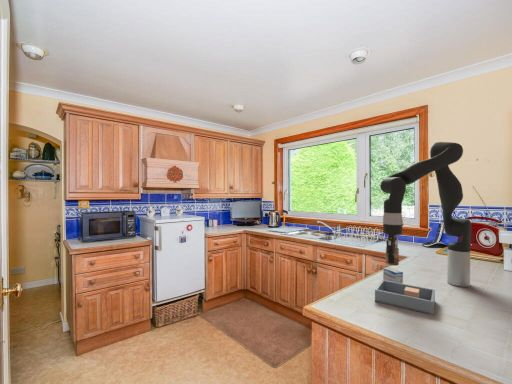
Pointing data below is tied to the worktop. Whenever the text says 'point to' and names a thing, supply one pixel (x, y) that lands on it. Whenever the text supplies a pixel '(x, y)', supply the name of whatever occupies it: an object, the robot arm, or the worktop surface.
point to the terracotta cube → (411, 292)
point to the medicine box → (392, 275)
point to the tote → (405, 297)
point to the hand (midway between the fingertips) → (392, 261)
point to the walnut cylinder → (396, 257)
